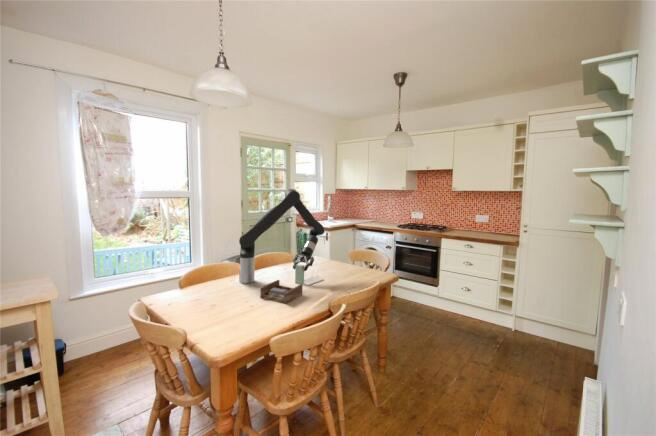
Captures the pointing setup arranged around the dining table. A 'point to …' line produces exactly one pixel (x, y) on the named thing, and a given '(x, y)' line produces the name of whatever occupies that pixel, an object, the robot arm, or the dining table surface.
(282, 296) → the offcut long
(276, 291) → the offcut short
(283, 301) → the rack
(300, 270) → the grey-green block
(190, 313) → the dining table surface
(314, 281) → the pale grey flat slab
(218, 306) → the dining table surface
